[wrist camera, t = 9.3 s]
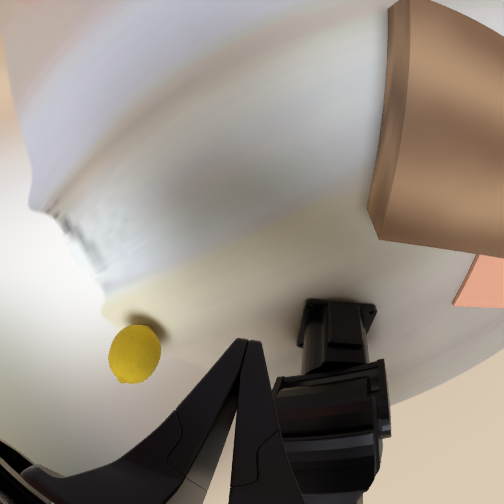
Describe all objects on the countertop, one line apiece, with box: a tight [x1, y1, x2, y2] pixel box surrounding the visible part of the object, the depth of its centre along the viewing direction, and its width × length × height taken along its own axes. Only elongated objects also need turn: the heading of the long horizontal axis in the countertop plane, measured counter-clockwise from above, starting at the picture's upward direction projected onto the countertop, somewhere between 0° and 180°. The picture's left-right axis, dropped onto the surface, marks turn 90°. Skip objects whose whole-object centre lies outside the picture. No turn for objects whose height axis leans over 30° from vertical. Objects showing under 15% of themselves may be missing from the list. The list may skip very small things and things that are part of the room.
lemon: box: [109, 325, 161, 384], centre depth 27 cm, size 6×6×8 cm
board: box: [367, 0, 504, 259], centre depth 12 cm, size 14×11×4 cm
